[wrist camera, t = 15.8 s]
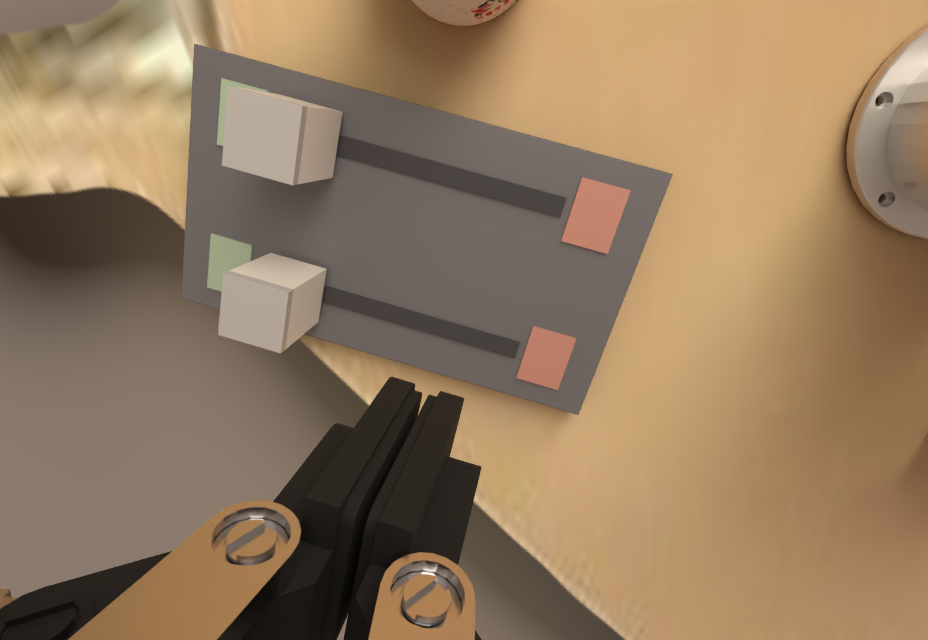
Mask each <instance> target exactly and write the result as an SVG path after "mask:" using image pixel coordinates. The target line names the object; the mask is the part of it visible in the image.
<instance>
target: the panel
mask: <svg viewBox="0 0 928 640" xmlns="http://www.w3.org/2000/svg"><path fill="white" fill-rule="evenodd" d="M228 86H234V87H239V88H245V89H251V90H257V91H263V92H268V93H274V94H280V95H284V96H287V97H291V98H295V99H298V100H302V101H306V102H309V103H313V104H316V105H320V106H324V107H327V108H331V109H335V110H338V111H342V112H343V113H342V119H341V126H340V132H339V139H338V146H337V152H336V159H335V165H334V172H333V178H329V179H324V180H318V181H313V182H308V183H303V184H297V185H290V184H286V183H282V182H279V181H275V180H272V179H268V178H265V177H261V176H258V175H254V174H251V173H247V172H243V171H240V170H236V169H233V168H229V167H226V166H222V156H223V143H224V129H225V115H226V101H227V88H228ZM672 175H673V174H670V173H667V172H663V171H659V170H656V169H652V168H648V167H645V166H641V165H637V164H634V163H630V162H626V161H623V160H619V159H615V158H612V157H608V156H604V155H601V154H597V153H593V152H590V151H586V150H582V149H579V148H575V147H571V146H568V145H564V144H560V143H557V142H553V141H549V140H546V139H542V138H538V137H535V136H531V135H527V134H524V133H520V132H516V131H513V130H509V129H505V128H502V127H498V126H494V125H491V124H487V123H483V122H480V121H476V120H472V119H469V118H465V117H461V116H458V115H454V114H450V113H447V112H443V111H439V110H436V109H432V108H428V107H425V106H421V105H417V104H414V103H410V102H406V101H402V100H399V99H395V98H391V97H388V96H384V95H380V94H377V93H373V92H369V91H366V90H362V89H358V88H355V87H351V86H347V85H344V84H340V83H336V82H333V81H329V80H325V79H322V78H318V77H314V76H311V75H307V74H303V73H300V72H296V71H292V70H289V69H285V68H281V67H278V66H274V65H270V64H267V63H263V62H259V61H256V60H252V59H248V58H245V57H241V56H237V55H234V54H230V53H226V52H223V51H219V50H215V49H212V48H208V47H204V46H201V45H197V44H194V61H193V81H192V101H191V122H190V142H189V162H188V182H187V203H186V223H185V244H184V263H183V284H182V298H183V299H187V300H190V301H193V302H197V303H200V304H204V305H207V306H210V307H214V308H217V309H220V305H221V293H222V280H223V273H225V272H227V271H229V270H232V269H234V268H236V267H239V266H241V265H243V264H246V263H248V262H250V261H253V260H255V259H257V258H260V257H262V256H264V255H267V254H269V253H274V254H277V255H281V256H284V257H288V258H291V259H295V260H298V261H301V262H305V263H308V264H312V265H315V266H319V267H322V268H326V269H327V270H326V277H325V283H324V289H323V296H322V302H321V308H320V315H319V321H318V323H317V324H315V325H314V326H313V327H312V328H311V329H309V330H308V331H307V332H306V333H305V335H309V336H312V337H316V338H319V339H322V340H326V341H329V342H333V343H336V344H339V345H343V346H346V347H350V348H353V349H356V350H360V351H363V352H367V353H370V354H373V355H377V356H380V357H384V358H387V359H390V360H394V361H397V362H401V363H404V364H407V365H411V366H414V367H418V368H421V369H424V370H428V371H431V372H435V373H438V374H441V375H445V376H448V377H452V378H455V379H458V380H462V381H465V382H468V383H472V384H475V385H479V386H482V387H485V388H489V389H492V390H496V391H499V392H502V393H506V394H509V395H513V396H516V397H519V398H523V399H526V400H530V401H533V402H536V403H540V404H543V405H547V406H550V407H553V408H557V409H560V410H564V411H567V412H570V413H574V414H577V415H578V414H579V412H580V409H581V407H582V404H583V402H584V399H585V397H586V394H587V391H588V389H589V386H590V384H591V381H592V379H593V376H594V374H595V371H596V368H597V366H598V363H599V361H600V358H601V356H602V353H603V351H604V348H605V345H606V343H607V340H608V338H609V335H610V333H611V330H612V328H613V325H614V323H615V320H616V317H617V315H618V312H619V310H620V307H621V305H622V302H623V300H624V297H625V294H626V292H627V289H628V287H629V284H630V282H631V279H632V277H633V274H634V271H635V269H636V266H637V264H638V261H639V259H640V256H641V254H642V251H643V249H644V246H645V243H646V241H647V238H648V236H649V233H650V231H651V228H652V226H653V223H654V220H655V218H656V215H657V213H658V210H659V208H660V205H661V203H662V200H663V197H664V195H665V192H666V190H667V187H668V185H669V182H670V180H671V177H672Z"/></svg>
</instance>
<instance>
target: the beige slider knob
mask: <svg viewBox="0 0 928 640" xmlns="http://www.w3.org/2000/svg"><path fill="white" fill-rule="evenodd" d="M326 270H327V269H326V268H322V267H319V266H315V265H312V264H308V263H305V262H301V261H298V260H295V259H291V258H288V257H284V256H281V255H277V254H274V253H269V254H267V255H264V256H262V257H260V258H257V259H255V260H253V261H250V262H248V263H246V264H243V265H241V266H239V267H236V268H234V269H232V270H229V271H227V272H225V273H223V280H222V293H221V305H220V319H219V331H218V335H220V336H224V337H228V338H230V339H234V340H237V341H241V342H244V343H247V344H251V345H254V346H257V347H261V348H264V349H267V350H271V351H274V352H278V353H282V352H283V351H284V350H285V349H287V348H288V347H289V346H290V345H291V344H292V343H294V342H295V341H296V340H297V339H299V338H300V337H301V336H302V335H303V334H305V333H306V332H307V331H308V330H309V329H311V328H312V327H313V326H314V325H315V324H317V323H318V321H319V315H320V308H321V302H322V296H323V289H324V283H325V277H326Z"/></svg>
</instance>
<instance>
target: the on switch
mask: <svg viewBox="0 0 928 640" xmlns="http://www.w3.org/2000/svg"><path fill="white" fill-rule="evenodd" d="M342 113H343V112H342V111H338V110H335V109H331V108H327V107H324V106H320V105H316V104H313V103H309V102H306V101H302V100H298V99H295V98H291V97H287V96H284V95H280V94H274V93H268V92H263V91H257V90H251V89H245V88H239V87H234V86H228V88H227V101H226V115H225V129H224V143H223V156H222V166H226V167H229V168H233V169H236V170H240V171H243V172H247V173H251V174H254V175H258V176H261V177H265V178H268V179H272V180H275V181H279V182H282V183H286V184H290V185H297V184H303V183H308V182H313V181H318V180H324V179H329V178H333V172H334V165H335V159H336V152H337V146H338V139H339V132H340V126H341V119H342Z"/></svg>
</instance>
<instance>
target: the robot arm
mask: <svg viewBox="0 0 928 640" xmlns="http://www.w3.org/2000/svg"><path fill="white" fill-rule="evenodd" d="M876 98H878V103H877V105H876V104H875V101H876ZM846 152H847V169H848V173H849V177H850V180H851V184H852V187H853V189H854V191H855V193H856V194H857V196H858V198H859V200H860V202H861V203H862V205H863V206H864V207H865V208H866V209H867V210H868V211H869V212H870V213H871V214H872V215H873V216H874V217H875V218H876V219H878V220H879V221H881V222H882V223H884V224H885V225H887V226H888V227H890V228H892V229H895V230H897V231H900V232H903V233H905V234H908V235H912V236H916V237H921V238H925V239H928V25H927V26H926V27H924V28H923V29H921V30H920V31H919V32H917V33H916V34H914V35H913V36H912V37H910V38H909V39H908V40H906V41H905V42H904V43H903V44H902V45H901V46H900V47H899V48H898V49H897V50H896V51H895V52H894V53H893V54H892V55H891V56H890V57H889V58H888V59H887V60H886V61H885V62H884V63H883V65H882V66H881V67H880V69H879V70H878V71H877V72H876V74H875V75H874V76H873V78H872V79H871V80H870V82H869V83H868V85H867V87H866V89H865V91H864V93H863V94H862V96H861V98H860V100H859V102H858V104H857V106H856V109H855V112H854V115H853V118H852V121H851V124H850V127H849V133H848V140H847V146H846ZM880 196H881V199H880V200H879V197H880ZM878 200H879V201H878ZM421 398H422V392H418V391H415V384H414V383H411V382H407V381H404V380H401V379H397V378H394V377H390V378H389V379H388V380H387V382H386V383H385V385H384V386H383V387H382V389H381V390H380V392H379V393H378V395H377V396H376V397H375V399H374V400H373V402H372V403H371V405H370V406H369V407H368V409H367V411H366V412H365V413H364V415H363V416H362V417H361V419H360V420H359V422H358V423H357V425H356V426H355V427H354V428H351V427H348V426H345V425H342V424H334V426H332V427H331V429H330V430H329V431H328V432H327V434H326V435H325V436H324V437H323V439H322V440H321V441H320V443H319V444H318V445H317V446H316V448H315V449H314V450H313V451H312V453H311V454H310V455H309V457H308V458H307V459H306V460H305V462H304V463H303V464H302V466H301V467H300V468H299V470H298V471H297V472H296V473H295V474H294V476H293V477H292V478H291V480H290V481H289V482H288V483H287V485H286V486H285V487H284V489H283V490H282V491H281V492H280V494H279V495H278V496H277V497H276V499H275V500H274V501H273V502H271V501H261V500H253V501H246V502H240V503H237V504H235V505H232V506H229V507H227V508H225V509H224V510H222V511H221V512H219V513H217V514H216V515H214V516H213V517H212V518H211V519H210V520H208V521H207V522H206V523H205V524H204V525H203V526H201V527H200V528H199V529H198V530H197V531H196V532H194V533H193V534H192V535H191V536H190V537H189V538H187V539H186V540H185V541H184V542H183V543H181V544H180V545H179V546H178V547H177V548H176V549H174V550H173V551H171V552H167V553H163V554H160V555H156V556H153V557H149V558H146V559H142V560H139V561H135V562H132V563H128V564H125V565H121V566H118V567H114V568H111V569H107V570H103V571H100V572H96V573H93V574H90V575H86V576H83V577H79V578H75V579H72V580H68V581H65V582H61V583H58V584H54V585H51V586H47V587H43V588H41V589H38V590H36V591H33V592H30V593H28V594H25V595H22V596H21V597H19V598H11V592H10V590H9V589H0V640H337V637H338V635H339V633H340V631H341V629H342V626H343V624H344V622H345V620H346V617H347V615H348V619H347V625H346V629H345V635H344V640H481V638H480V637H479V635H478V634H477V632H476V631H475V596H474V589H473V586H472V584H471V582H470V580H469V578H468V576H467V575H466V574H465V572H464V571H463V570H462V569H461V568H460V567H459V566H458V563H459V559H460V554H461V550H462V546H463V542H464V538H465V534H466V529H467V525H468V521H469V517H470V513H471V509H472V504H473V500H474V496H475V492H476V488H477V484H478V480H479V475H480V471H481V466H477V465H474V464H471V463H467V462H464V461H461V460H457V459H454V458H451V457H450V453H451V449H452V445H453V441H454V437H455V433H456V429H457V425H458V421H459V418H460V414H461V410H462V406H463V401H464V398H462V397H459V396H456V395H452V394H449V393H445V392H442V391H440V392H439V394H438V396H437V397H435V396H432V395H429V396H428V397H427V399H426V401H425V403H424V405H423V407H422V409H421V411H420V413H419V415H418V412H419V407H420V403H421ZM417 416H418V417H417ZM348 613H349V614H348Z"/></svg>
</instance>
